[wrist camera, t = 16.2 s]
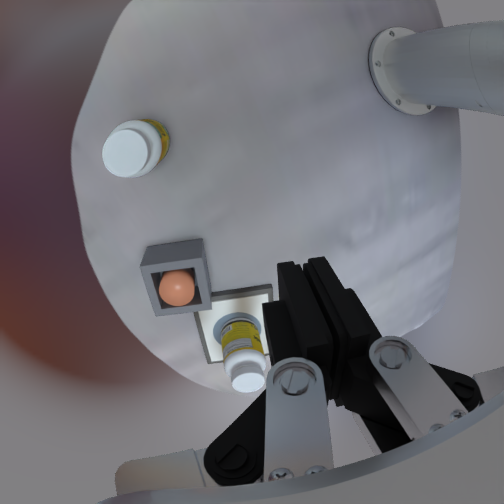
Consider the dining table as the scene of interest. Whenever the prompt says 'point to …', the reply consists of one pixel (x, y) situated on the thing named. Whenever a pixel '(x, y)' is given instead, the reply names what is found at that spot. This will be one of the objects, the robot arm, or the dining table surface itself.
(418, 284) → the dining table surface
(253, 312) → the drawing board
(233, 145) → the dining table surface
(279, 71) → the dining table surface
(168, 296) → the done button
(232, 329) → the supplement bottle
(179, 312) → the button housing
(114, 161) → the supplement bottle
